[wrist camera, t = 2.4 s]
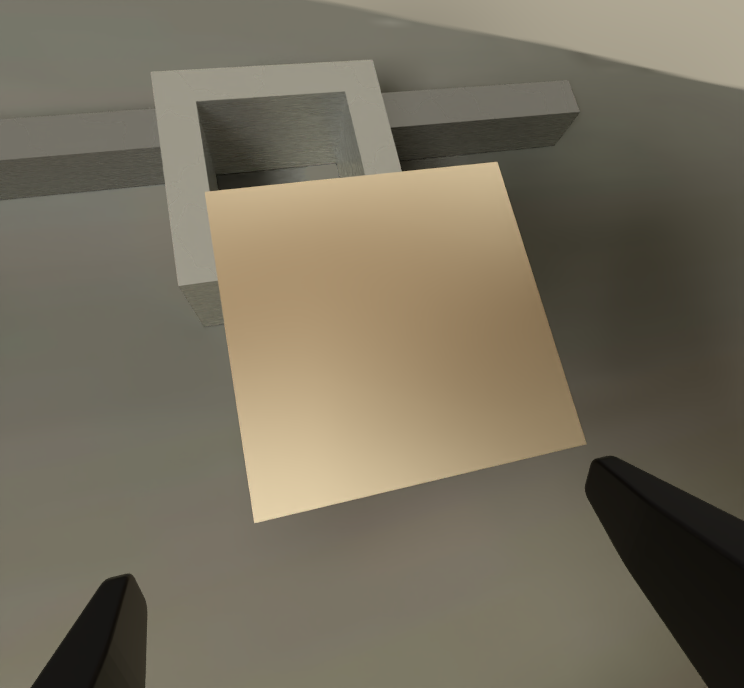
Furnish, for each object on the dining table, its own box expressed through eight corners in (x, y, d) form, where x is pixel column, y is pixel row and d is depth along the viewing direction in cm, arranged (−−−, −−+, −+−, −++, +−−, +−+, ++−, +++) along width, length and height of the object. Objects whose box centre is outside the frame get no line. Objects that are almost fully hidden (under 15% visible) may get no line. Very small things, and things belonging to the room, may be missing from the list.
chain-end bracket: (596, 265, 23) (662, 219, 19) (-78, 370, 18) (-195, 337, 13) (543, 116, 25) (592, 44, 21) (-77, 168, 20) (-179, 84, 15)
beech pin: (386, 467, 19) (586, 443, 6) (285, 490, 18) (253, 522, 5) (365, 370, 20) (497, 161, 7) (268, 388, 19) (204, 192, 6)
